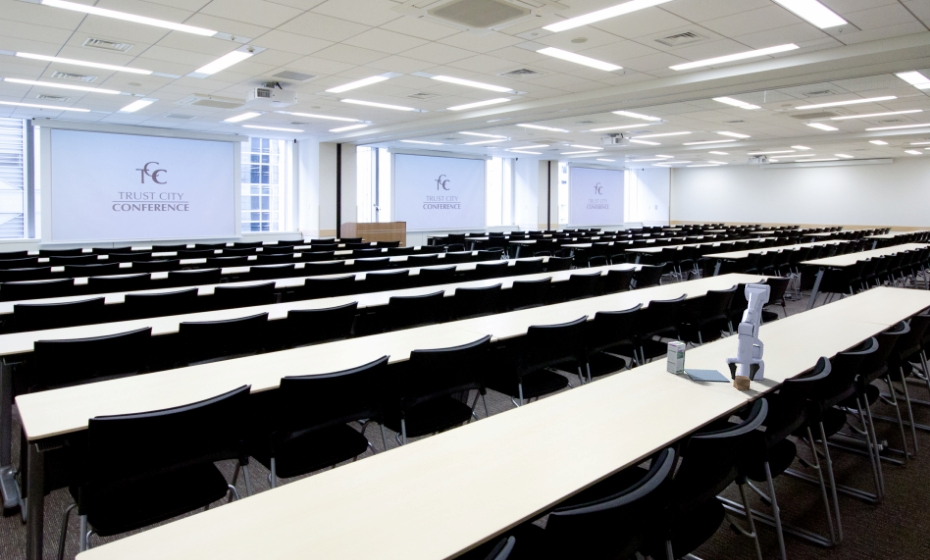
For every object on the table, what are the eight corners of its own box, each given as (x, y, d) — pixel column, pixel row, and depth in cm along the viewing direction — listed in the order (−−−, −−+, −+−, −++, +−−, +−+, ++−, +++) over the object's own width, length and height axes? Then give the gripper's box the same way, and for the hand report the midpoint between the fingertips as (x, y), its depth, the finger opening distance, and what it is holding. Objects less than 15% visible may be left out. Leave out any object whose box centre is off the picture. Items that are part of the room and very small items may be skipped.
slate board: (716, 371, 281) (716, 370, 281) (729, 382, 266) (729, 380, 266) (682, 370, 282) (683, 368, 282) (693, 380, 267) (693, 379, 266)
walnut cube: (744, 386, 260) (745, 376, 259) (749, 390, 255) (750, 379, 254) (733, 386, 260) (734, 375, 259) (737, 390, 255) (738, 379, 255)
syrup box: (675, 374, 275) (677, 344, 273) (665, 371, 280) (668, 341, 278) (684, 373, 277) (686, 343, 275) (674, 369, 283) (676, 340, 280)
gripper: (731, 351, 251) (728, 381, 253) (766, 352, 251) (763, 383, 253) (725, 347, 258) (722, 376, 260) (759, 348, 258) (755, 378, 260)
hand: (742, 379), depth 257 cm, fingers open, 7 cm apart
